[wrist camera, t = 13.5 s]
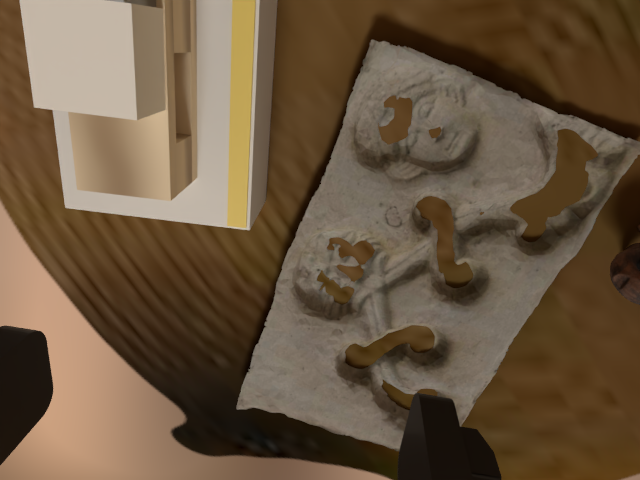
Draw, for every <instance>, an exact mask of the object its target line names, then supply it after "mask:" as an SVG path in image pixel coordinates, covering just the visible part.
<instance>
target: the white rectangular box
mask: <svg viewBox="0 0 640 480" xmlns="http://www.w3.org/2000/svg"><path fill="white" fill-rule="evenodd" d="M277 1H278V0H196V21H197V178H196V179H195V180H194V181H193V182H192V183H191V184H190V185H189V186H187V187H186V188H185V189H184V190H183V191H182V192H181V193H179V194H178V195H177V196H176V197H175V198H174V199H173V200H171V201H166V200H157V199H149V198H140V197H132V196H124V195H115V194H107V193H99V192H90V191H82V190H77V185H76V176H75V167H74V159H73V150H72V142H71V133H70V124H69V116H68V112H66V111H58V110H53V116H54V124H55V131H56V139H57V147H58V155H59V163H60V170H61V178H62V186H63V194H64V201H65V208H70V209H79V210H87V211H95V212H103V213H112V214H120V215H128V216H136V217H144V218H153V219H161V220H169V221H177V222H186V223H194V224H202V225H210V226H219V227H227V228H235V229H243V230H250V228H251V227H252V225H253V223H254V221H255V219H256V217H257V216H258V214H259V212H260V210H261V208H262V207H263V205H264V203H265V201H266V190H267V172H268V155H269V138H270V121H271V104H272V87H273V69H274V52H275V35H276V18H277Z"/></svg>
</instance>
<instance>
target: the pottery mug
mask: <svg viewBox="0 0 640 480" xmlns="http://www.w3.org/2000/svg"><path fill="white" fill-rule="evenodd" d="M637 228H638V230H639V231H640V224H639V225H638V226H637ZM610 276H611V280H612V282H613V284H614V286H615V287H616V289H617V290H618V291H619V292H620V293H621V295H623V296H624V297H625V298H626V299H628V300H630V301H631V302H634V303H636V304H639V305H640V243H636V244H633V245H631V246H629V247H628V248H626V250H625V251H623V252H621V253H619V254H617V255H616V257H615V259H614V260H613V261H612V263H611V266H610Z"/></svg>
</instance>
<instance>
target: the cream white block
mask: <svg viewBox="0 0 640 480" xmlns="http://www.w3.org/2000/svg"><path fill="white" fill-rule="evenodd" d="M20 7H21V14H22V22H23V29H24V36H25V44H26V51H27V58H28V66H29V73H30V80H31V88H32V95H33V102H34V108H42V109H50V110H58V111H66V112H74V113H82V114H90V115H98V116H106V117H114V118H122V119H130V120H139V119H142V118H145V117H148V116H150V115H153V114H156V113H158V112H161V111H164V110H166V107H165V65H164V24H163V9H162V8H156V7H150V6H144V5H138V4H132V3H124V2H115V1H107V0H20Z"/></svg>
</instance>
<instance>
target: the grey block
mask: <svg viewBox="0 0 640 480" xmlns="http://www.w3.org/2000/svg"><path fill="white" fill-rule="evenodd" d="M107 1H115V2H124V3H132V4H138V5H144V6H150V7H156V0H107Z"/></svg>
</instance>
